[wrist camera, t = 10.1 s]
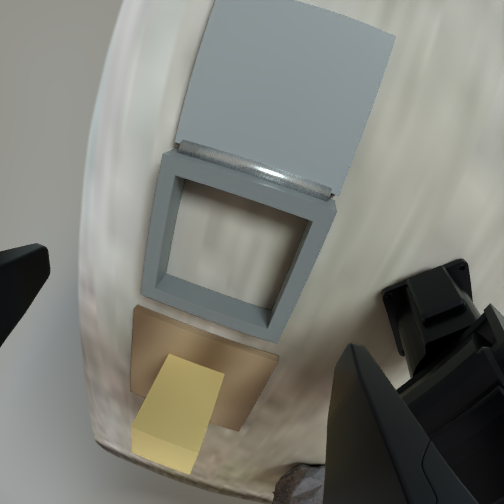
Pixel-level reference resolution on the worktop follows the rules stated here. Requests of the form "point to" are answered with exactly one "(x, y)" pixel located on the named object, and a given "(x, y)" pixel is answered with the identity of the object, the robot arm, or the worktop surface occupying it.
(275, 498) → the perforated stone tool
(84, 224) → the worktop surface
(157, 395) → the block
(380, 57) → the hinged window frame
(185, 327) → the walnut board
